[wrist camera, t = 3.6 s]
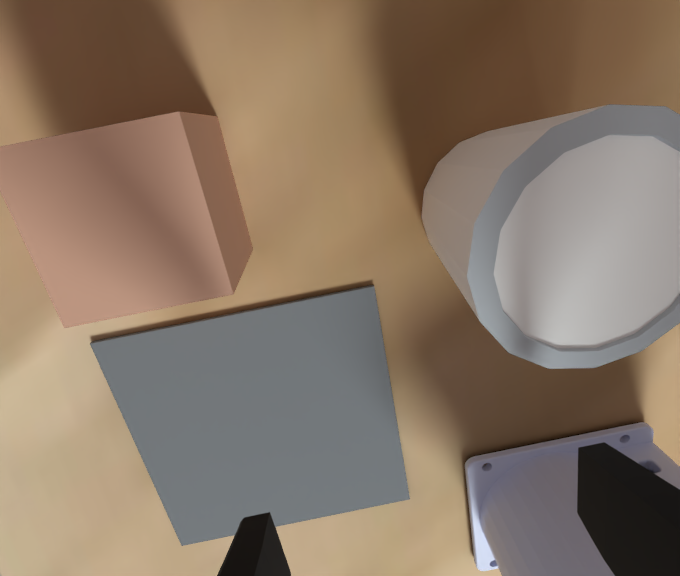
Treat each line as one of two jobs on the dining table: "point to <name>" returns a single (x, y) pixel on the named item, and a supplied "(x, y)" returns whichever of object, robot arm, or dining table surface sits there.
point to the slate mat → (262, 413)
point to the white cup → (565, 232)
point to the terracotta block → (129, 215)
